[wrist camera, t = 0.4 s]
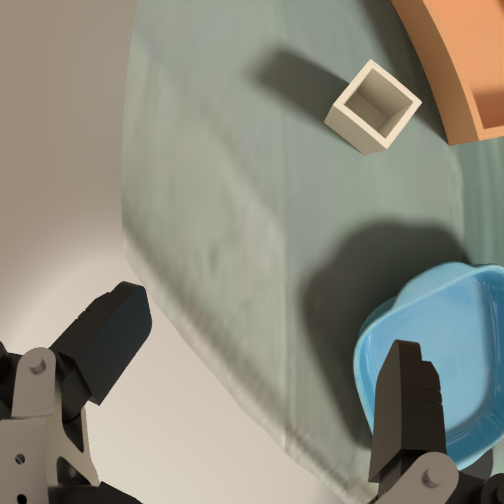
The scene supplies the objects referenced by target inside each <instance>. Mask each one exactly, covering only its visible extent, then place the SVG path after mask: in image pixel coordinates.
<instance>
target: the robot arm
mask: <svg viewBox="0 0 504 504" xmlns="http://www.w3.org/2000/svg"><path fill="white" fill-rule="evenodd" d="M151 328H152V318H151V314H150V309H149V304H148V299H147V294H146V290H145V288H144V287H143V286H140V285H136V284H133V283H129V282H125V281H123V282H121V283H119V284H118V285H117V286H116V287H115V288H114V290H112V291H111V292H110V293H109V292H107V293H106V294H104V295H102V296H100V297H98V298H96V299H95V300H94V301H93V302H92V303H91V304H90V305H89V306H88V307H87V308H86V310H85V311H83V312H82V313H81V314H80V315H79V316H78V319H75V321H74V322H73V323H72V324H71V325H70V326H69V327H68V328H67V329H66V330H65V331H64V332H63V333H62V335H61V336H60V337H59V338H58V339H57V340H56V341H55V342H54V343H53V344H52V345H51V347H49V348H48V349H47V348H43V347H39V348H34V349H31V350H29V351H28V352H26V353H25V354H24V355H19V354H14V353H8V352H7V351H6V349H5V348H4V345H3V344H2V342H1V341H0V504H142V503H141V502H140V501H138V500H137V499H136V498H134V497H132V496H130V495H128V494H126V493H123V492H122V491H120V490H118V489H116V488H114V487H112V486H110V485H108V484H106V483H105V482H103V481H101V483H99V479H98V475H97V472H96V469H95V467H94V465H93V463H92V461H91V457H90V451H89V443H88V434H87V422H86V411H85V407H84V405H85V404H86V402H87V401H88V400H89V401H91V402H93V403H95V404H97V405H99V406H100V404H101V403H102V401H103V400H104V399H105V397H106V396H107V394H108V393H109V391H110V390H111V388H112V387H113V386H114V384H115V383H116V381H117V380H118V378H119V377H120V376H121V374H122V373H123V371H124V370H125V368H126V367H127V366H128V364H129V363H130V361H131V360H132V359H133V357H134V356H135V354H136V353H137V352H138V350H139V349H140V347H141V346H142V344H143V343H144V342H145V340H146V339H147V338H148V336H149V334H150V331H151ZM440 392H441V386H440V379H439V374H438V373H437V371H436V369H435V367H434V366H433V364H432V362H431V361H423V360H422V354H421V347H420V344H419V343H418V342H412V341H405V340H398V339H395V340H394V342H393V343H392V346H391V348H390V350H389V352H388V354H387V357H386V359H385V361H384V363H383V365H382V367H381V369H380V371H379V374H378V377H377V381H376V388H375V408H374V425H373V438H372V450H371V460H370V470H369V478H368V482H374V483H379V488H378V493H377V494H376V495H375V496H374V497H373V498H372V499H371V500H370V501H369V502H368V503H367V504H504V473H499V474H496V475H493V476H492V477H490V478H489V479H488V480H483V479H480V478H476V477H473V476H470V475H467V474H464V473H462V472H460V471H459V470H458V469H457V466H456V464H455V462H454V461H453V460H452V459H451V458H450V457H449V456H448V455H447V450H446V435H445V423H444V412H443V405H442V394H441V393H440Z"/></svg>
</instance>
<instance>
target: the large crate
mask: <svg viewBox="0 0 504 504" xmlns="http://www.w3.org/2000/svg"><path fill="white" fill-rule="evenodd" d="M391 2H392V4H393V5H394V7H395V9H396V11H397V13H398V15H399V17H400V19H401V21H402V23H403V25H404V27H405V29H406V31H407V33H408V35H409V37H410V39H411V41H412V44H413V46H414V48H415V50H416V53H417V55H418V57H419V60H420V62H421V64H422V67H423V69H424V72H425V74H426V77H427V79H428V82H429V85H430V87H431V90H432V93H433V95H434V98H435V101H436V104H437V107H438V110H439V113H440V116H441V119H442V122H443V126H444V129H445V132H446V136H447V139H448V143H449V145H455V144H461V143H468V142H474V141H480V140H485V139H490V138H495V137H500V136H504V0H391Z"/></svg>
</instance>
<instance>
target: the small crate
mask: <svg viewBox="0 0 504 504" xmlns="http://www.w3.org/2000/svg"><path fill="white" fill-rule="evenodd" d="M421 103H422V102H421V101H420V100H419V99H418V98H417V97H416V96H415V95H414V94H413V93H411V92H410V91H409V90H408V89H407V88H406V87H405V86H403V85H402V84H401V83H400V82H399V81H397V80H396V79H395V78H394V77H393V76H391V75H390V74H389V73H388V72H386V71H385V70H384V69H383V68H381V67H380V66H379V65H378V64H376V63H375V62H374V61H372V60H371V59H370V60H369V61H368V63H367V64H366V65H365V66H364V67H363V69H362V70H361V71H360V72H359V73H358V75H357V76H356V77H355V78H354V79H353V81H352V82H351V83H350V84H349V86H348V87H347V88H346V89H345V90H344V92H343V93H342V94H341V95H340V97H339V98H338V99H337V100H336V101H335V103H334V104H333V105H332V107H331V109H330V111H329V113H328V115H327V117H326V119H325V121H324V123H325V124H326V125H327V126H329V127H330V128H331V129H333V130H334V131H335V132H336V133H338V134H339V135H340V136H341V137H343V138H344V139H345V140H346V141H348V142H349V143H350V144H351V145H352V146H354V147H355V148H356V149H357V150H358V151H360V152H361V153H362V154H363V155H364V156H365V155H368V154H372V153H375V152H379V151H382V150H386V149H387V148H388V147H389V146H390V144H391V143H392V142H393V140H394V139H395V138H396V136H397V135H398V134H399V133H400V131H401V130H402V129H403V127H404V126H405V125H406V123H407V122H408V121H409V119H410V118H411V117H412V115H413V114H414V113H415V111H416V110H417V109H418V107H419V106H420V104H421Z"/></svg>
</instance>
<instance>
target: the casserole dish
mask: <svg viewBox="0 0 504 504" xmlns="http://www.w3.org/2000/svg"><path fill="white" fill-rule="evenodd" d="M395 339H398V340H405V341H412V342H418V343H419V344H420V347H421V354H422V360H423V361H431V362H432V364H433V366H434V367H435V369H436V371H437V373H438V374H439V379H440V386H441V392H440V393H441V394H442V405H443V412H444V423H445V435H446V450H447V455H448V456H449V457H450V458H451V459H452V460H453V461H454V462H455V464H456V466H457V469H458V470H459V471H460V470H461V469H463V468H465V467H467V466H469V465H471V464H472V463H474V462H475V461H476V460H477V459H479V458H480V457H481V456H482V455H483V454H484V453H485V452H486V451H487V450H488V449H490V448H491V447H492V446H494V445H495V444H496V443H498V442H499V441H500V440H501V439H502V438H503V437H504V267H503V266H501V265H498V264H471V265H467V264H465V263H462V262H455V261H452V262H445V263H441V264H438V265H436V266H433V267H431V268H429V269H427V270H425V271H423V272H421V273H420V274H418V275H416V276H415V277H413V278H412V279H411V280H409V281H408V282H407V283H406V284H405V285H404V286H403V287H402V288H401V290H400V291H399V293H398V294H397V295H396V296H394V297H392V298H391V299H389V300H387V301H386V302H384V303H382V304H381V305H379V306H378V307H377V308H376V309H375V310H374V311H373V312H372V313H371V314H370V315H369V316H368V317H367V318H366V320H365V321H364V323H363V325H362V327H361V329H360V332H359V335H358V339H357V342H356V345H355V349H354V354H353V372H354V378H355V384H356V388H357V391H358V395H359V398H360V401H361V404H362V407H363V410H364V413H365V416H366V419H367V421H368V424H369V427H370V430H371V433H372V436H373V425H374V408H375V388H376V381H377V377H378V374H379V371H380V369H381V367H382V365H383V363H384V361H385V359H386V357H387V354H388V352H389V350H390V348H391V346H392V343H393V342H394V340H395Z"/></svg>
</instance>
